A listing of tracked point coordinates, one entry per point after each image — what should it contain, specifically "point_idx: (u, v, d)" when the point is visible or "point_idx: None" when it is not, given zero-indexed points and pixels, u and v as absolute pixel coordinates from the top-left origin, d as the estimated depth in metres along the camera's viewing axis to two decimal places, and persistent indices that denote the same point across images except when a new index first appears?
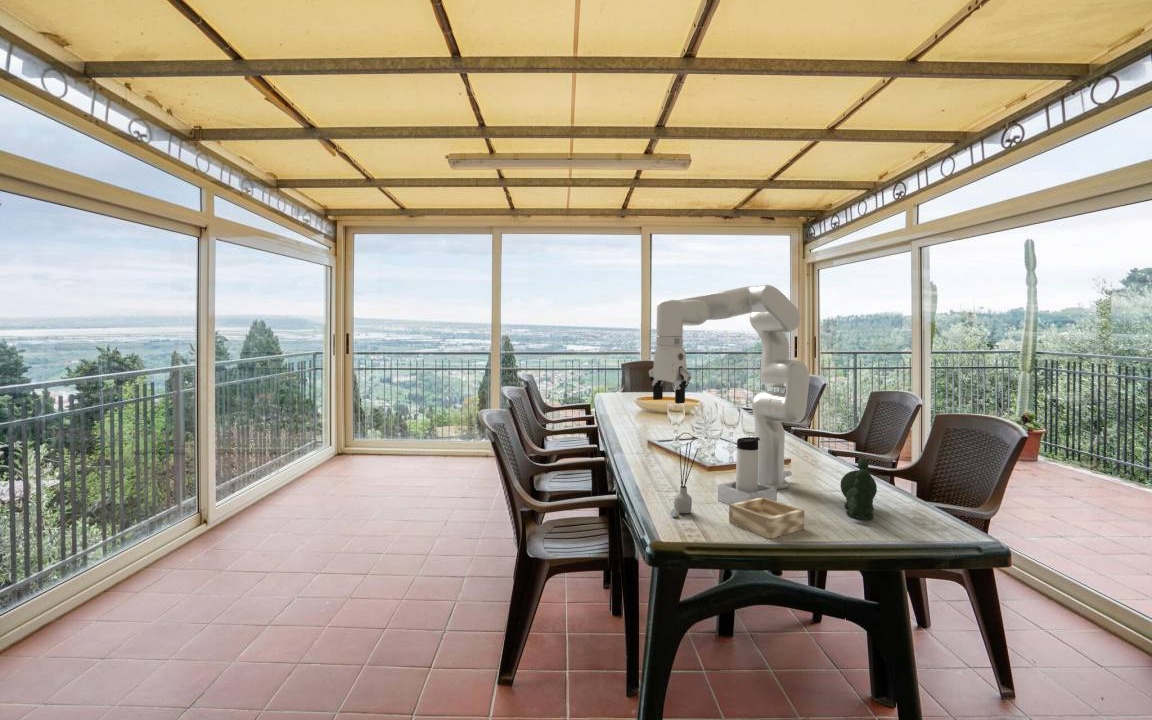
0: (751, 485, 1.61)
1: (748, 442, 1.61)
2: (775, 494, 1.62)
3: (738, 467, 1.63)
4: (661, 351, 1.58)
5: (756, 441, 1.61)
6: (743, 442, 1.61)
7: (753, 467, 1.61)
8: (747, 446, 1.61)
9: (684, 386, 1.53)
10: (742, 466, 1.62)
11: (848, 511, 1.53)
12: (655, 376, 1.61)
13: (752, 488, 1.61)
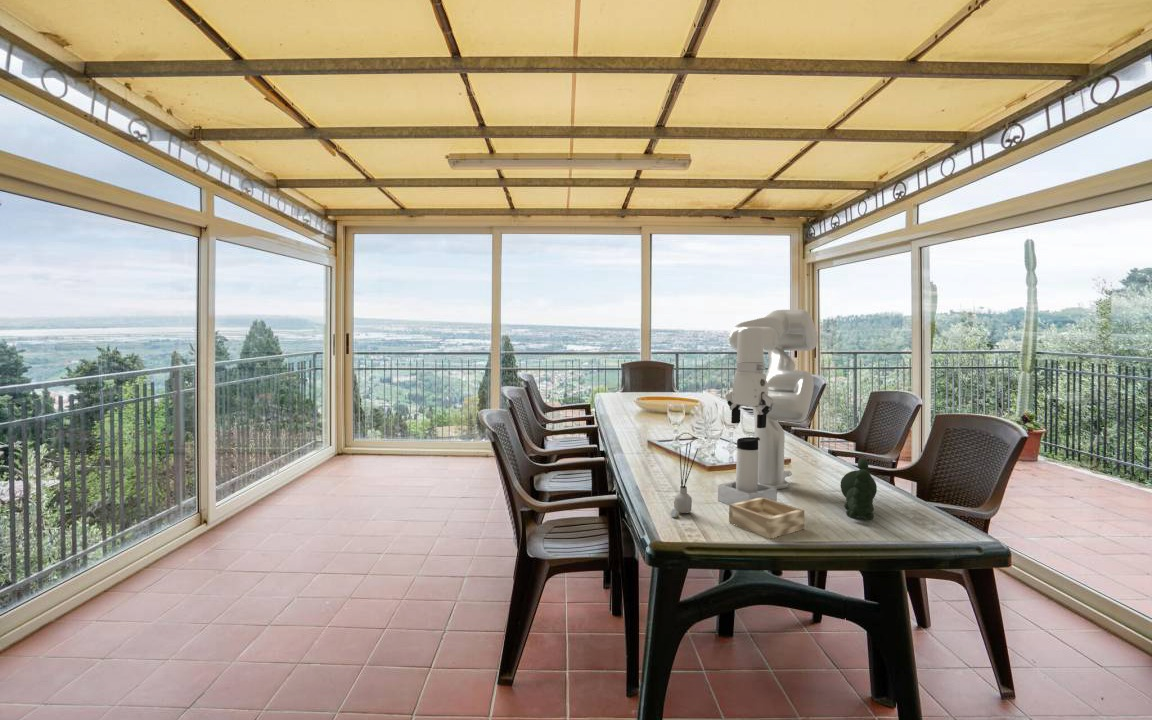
0: (751, 485, 1.61)
1: (748, 442, 1.61)
2: (775, 494, 1.62)
3: (738, 467, 1.63)
4: (741, 376, 1.62)
5: (756, 441, 1.61)
6: (743, 442, 1.61)
7: (753, 467, 1.61)
8: (748, 446, 1.61)
9: (766, 411, 1.57)
10: (742, 466, 1.62)
11: (848, 511, 1.53)
12: (734, 400, 1.65)
13: (752, 488, 1.61)
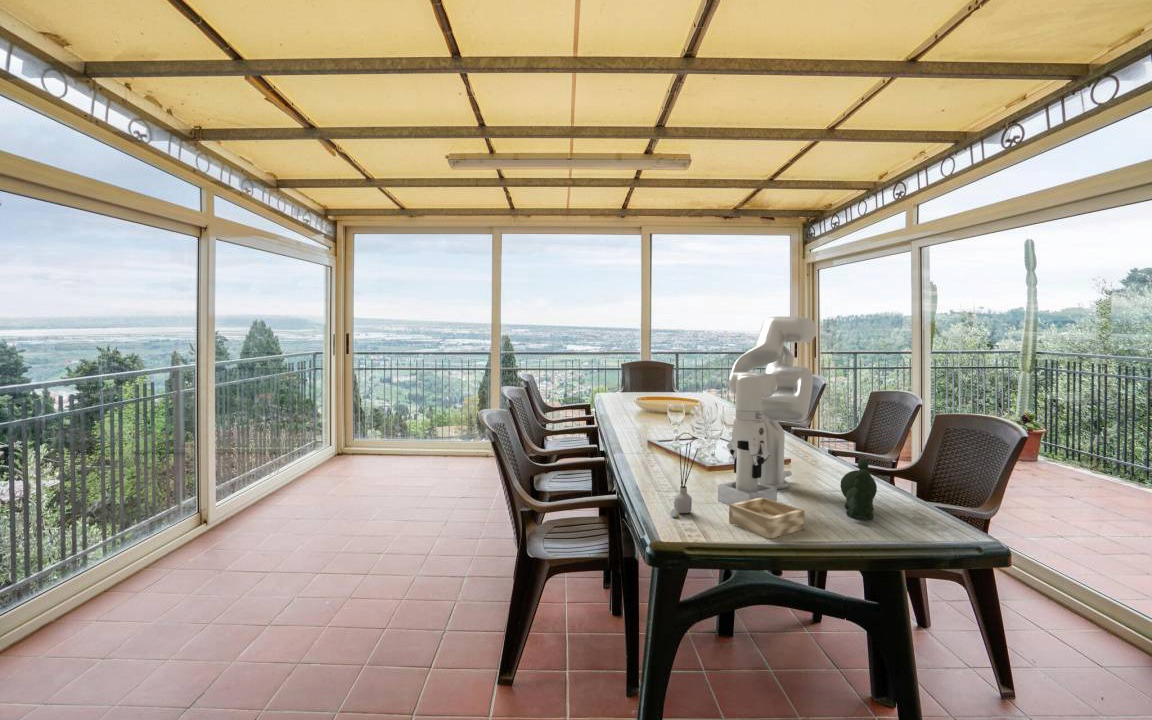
0: (751, 485, 1.61)
1: (748, 442, 1.60)
2: (775, 494, 1.62)
3: (738, 467, 1.63)
4: (740, 424, 1.63)
5: None
6: (743, 442, 1.61)
7: None
8: (748, 446, 1.61)
9: (762, 462, 1.59)
10: (742, 466, 1.62)
11: (848, 511, 1.53)
12: (733, 447, 1.66)
13: (752, 488, 1.61)
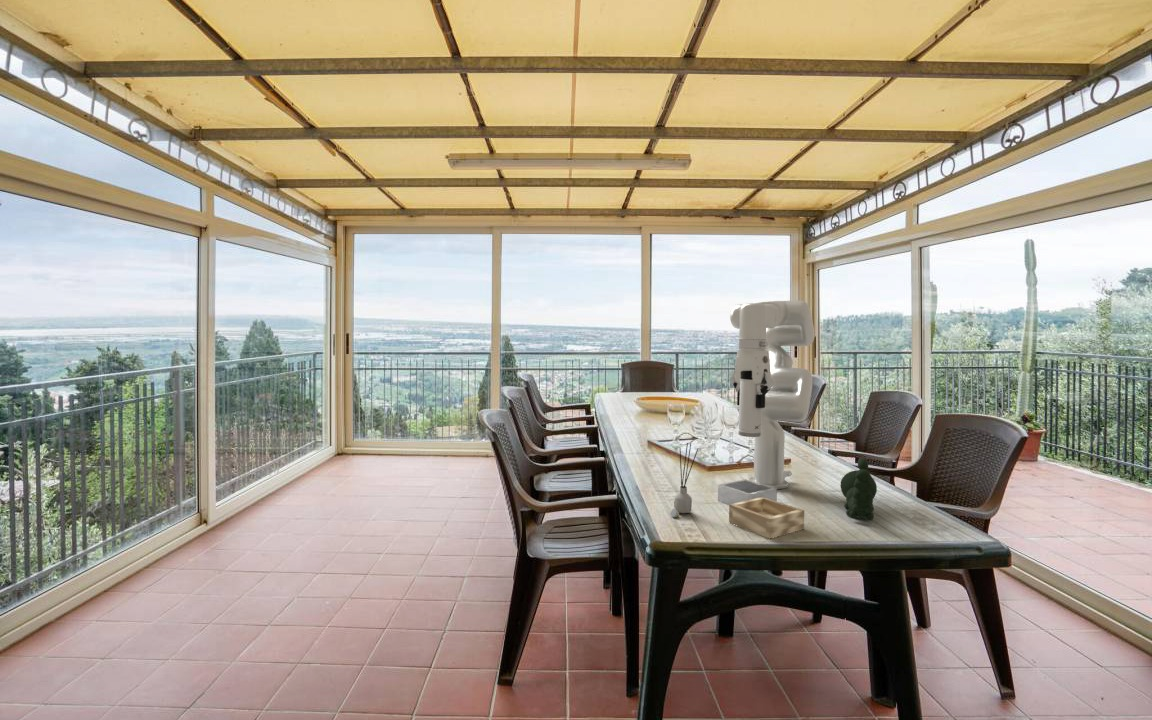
0: (755, 415, 1.58)
1: None
2: (775, 494, 1.62)
3: (741, 398, 1.60)
4: (744, 354, 1.59)
5: None
6: (747, 371, 1.58)
7: None
8: (751, 376, 1.57)
9: (765, 391, 1.56)
10: (745, 396, 1.58)
11: (848, 511, 1.53)
12: (737, 379, 1.62)
13: (756, 419, 1.58)
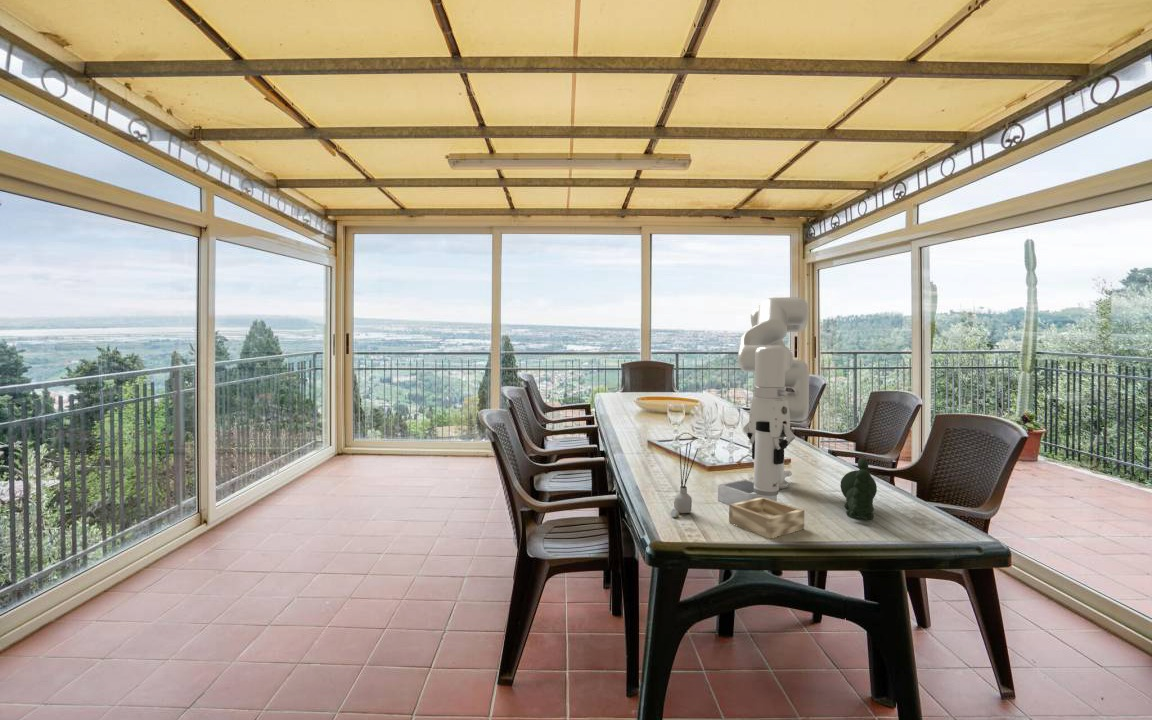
0: (772, 472, 1.41)
1: (769, 423, 1.40)
2: None
3: (757, 452, 1.43)
4: (760, 403, 1.43)
5: None
6: (763, 423, 1.41)
7: None
8: (768, 428, 1.41)
9: (784, 446, 1.39)
10: (762, 450, 1.42)
11: (848, 511, 1.53)
12: (752, 430, 1.46)
13: (774, 476, 1.41)
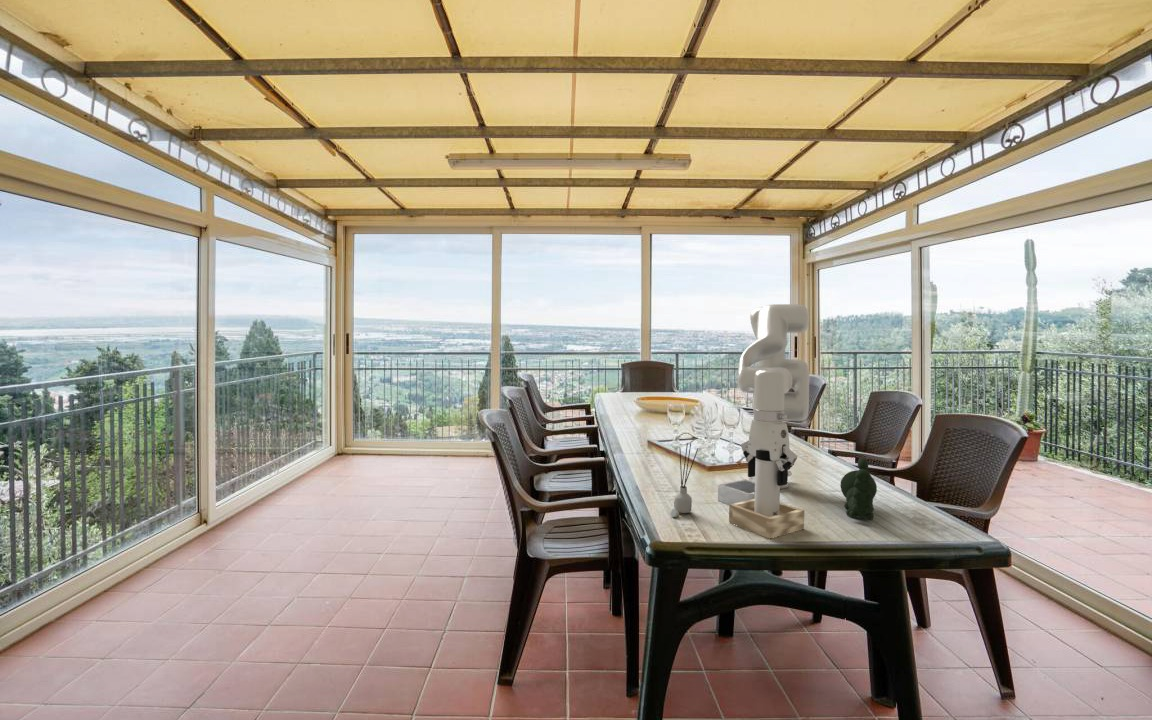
0: (773, 501, 1.42)
1: (769, 452, 1.41)
2: None
3: (757, 480, 1.43)
4: (759, 426, 1.43)
5: None
6: (763, 452, 1.42)
7: (775, 480, 1.41)
8: (768, 457, 1.41)
9: (788, 467, 1.39)
10: (762, 479, 1.42)
11: (848, 511, 1.53)
12: (751, 452, 1.46)
13: (774, 504, 1.42)
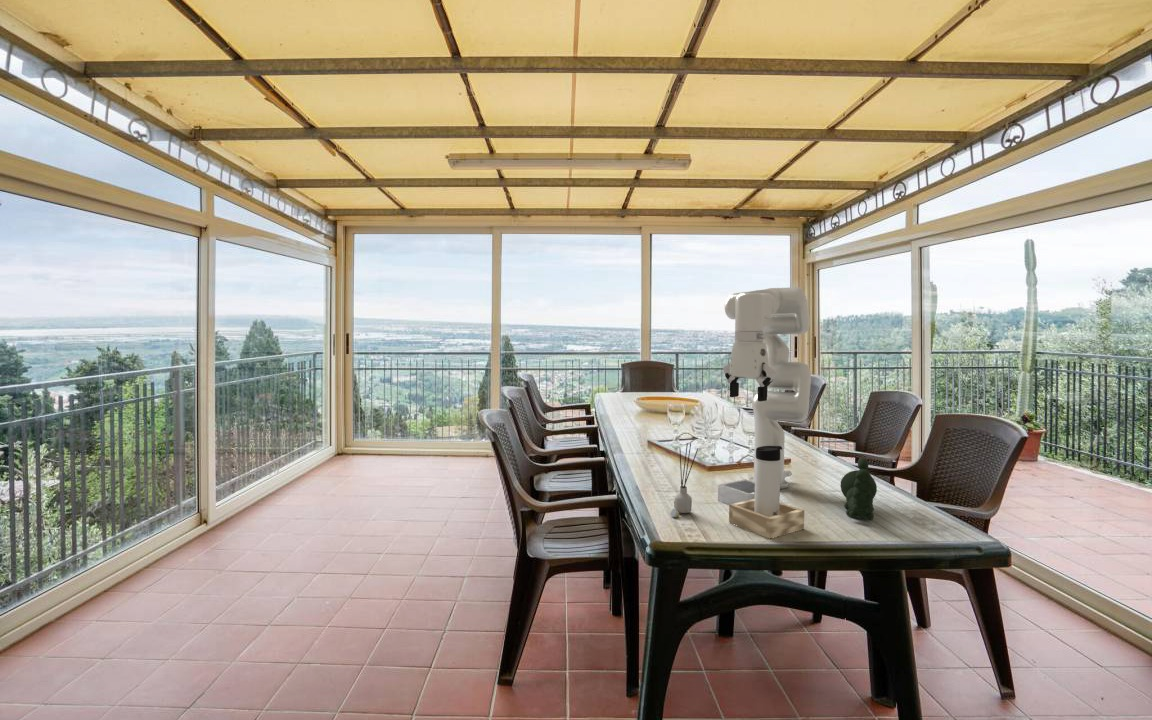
0: (772, 500, 1.42)
1: (769, 452, 1.41)
2: None
3: (757, 480, 1.43)
4: (740, 347, 1.51)
5: (778, 450, 1.42)
6: (763, 452, 1.42)
7: (775, 480, 1.42)
8: (768, 456, 1.41)
9: (768, 383, 1.47)
10: (762, 479, 1.42)
11: (848, 511, 1.53)
12: (733, 373, 1.54)
13: (774, 504, 1.42)
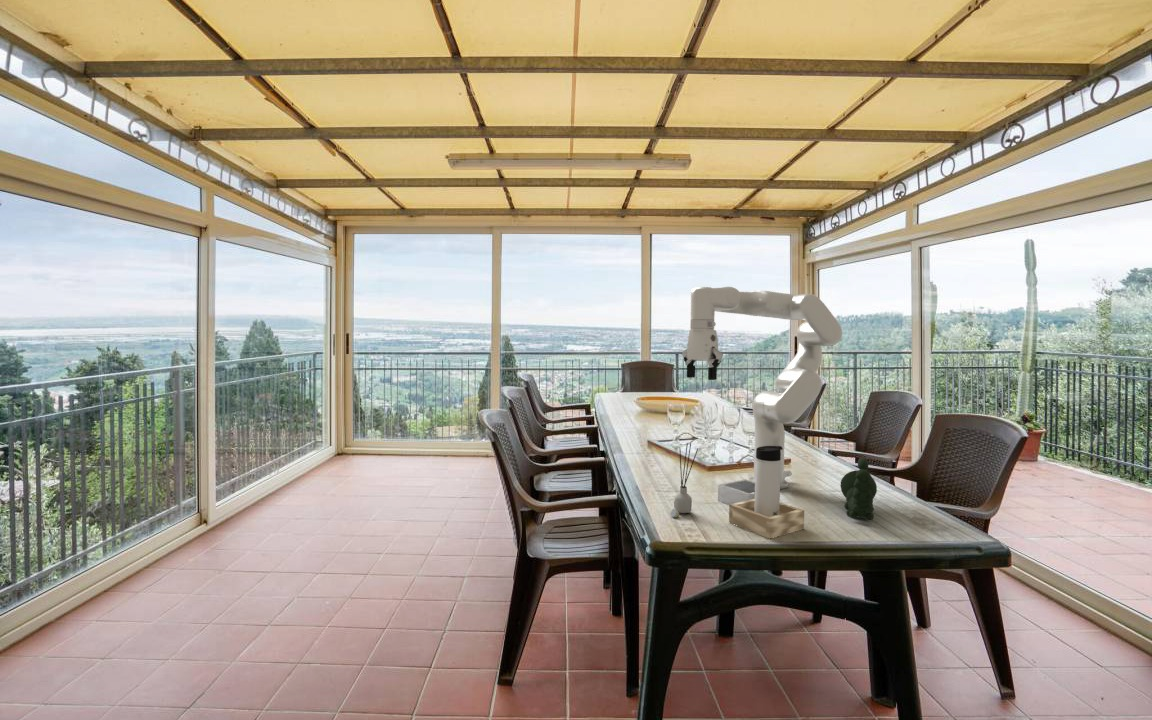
0: (773, 501, 1.42)
1: (769, 452, 1.41)
2: None
3: (757, 480, 1.43)
4: (694, 333, 1.75)
5: (778, 451, 1.42)
6: (763, 452, 1.42)
7: (775, 480, 1.42)
8: (769, 456, 1.41)
9: (716, 364, 1.71)
10: (762, 479, 1.42)
11: (848, 511, 1.53)
12: (689, 356, 1.78)
13: (774, 504, 1.42)
